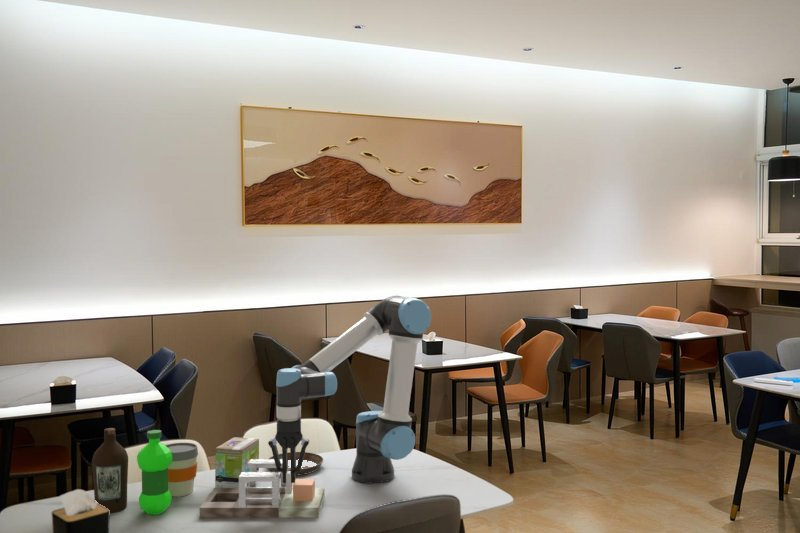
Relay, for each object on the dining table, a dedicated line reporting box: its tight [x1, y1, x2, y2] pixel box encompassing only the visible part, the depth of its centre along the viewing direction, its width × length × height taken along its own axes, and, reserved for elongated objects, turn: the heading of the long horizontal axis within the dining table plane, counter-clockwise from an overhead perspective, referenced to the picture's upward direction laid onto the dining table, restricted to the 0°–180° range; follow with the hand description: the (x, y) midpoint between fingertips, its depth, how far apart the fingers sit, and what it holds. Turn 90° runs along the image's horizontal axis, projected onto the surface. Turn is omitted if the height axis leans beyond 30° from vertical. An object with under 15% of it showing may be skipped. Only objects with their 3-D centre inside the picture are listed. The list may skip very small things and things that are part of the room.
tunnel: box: [239, 458, 288, 508], centre depth 238 cm, size 12×18×10 cm, turn 0°
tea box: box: [214, 436, 260, 488], centre depth 259 cm, size 15×10×15 cm, turn 168°
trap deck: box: [199, 487, 325, 519], centre depth 238 cm, size 36×18×3 cm, turn 90°
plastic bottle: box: [136, 429, 173, 516], centre depth 234 cm, size 10×10×25 cm
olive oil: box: [91, 427, 129, 514], centre depth 237 cm, size 11×11×25 cm
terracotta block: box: [292, 478, 316, 501], centre depth 238 cm, size 6×6×5 cm
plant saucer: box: [268, 451, 324, 476], centre depth 278 cm, size 21×21×3 cm
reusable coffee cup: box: [164, 442, 199, 497], centre depth 252 cm, size 13×12×15 cm
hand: (289, 492), depth 238 cm, fingers closed
